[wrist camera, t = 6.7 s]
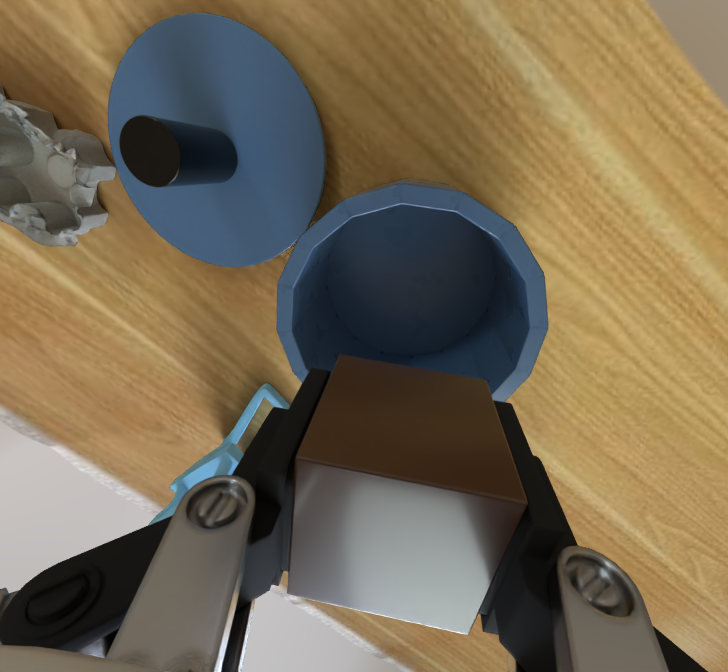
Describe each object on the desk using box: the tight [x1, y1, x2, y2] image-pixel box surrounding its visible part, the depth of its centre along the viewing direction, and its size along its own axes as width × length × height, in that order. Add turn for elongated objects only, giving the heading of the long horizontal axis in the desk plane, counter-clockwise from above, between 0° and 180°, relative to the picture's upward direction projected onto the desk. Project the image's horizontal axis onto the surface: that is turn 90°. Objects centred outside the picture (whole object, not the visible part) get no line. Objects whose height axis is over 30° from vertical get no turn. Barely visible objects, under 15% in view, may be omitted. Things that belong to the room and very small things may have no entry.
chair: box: [149, 383, 291, 525], centre depth 27 cm, size 8×8×12 cm
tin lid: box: [108, 13, 326, 267], centre depth 20 cm, size 14×14×7 cm
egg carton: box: [0, 85, 116, 246], centre depth 23 cm, size 11×8×4 cm
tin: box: [276, 178, 548, 402], centre depth 21 cm, size 13×13×8 cm
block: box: [287, 354, 528, 634], centre depth 9 cm, size 4×4×4 cm
